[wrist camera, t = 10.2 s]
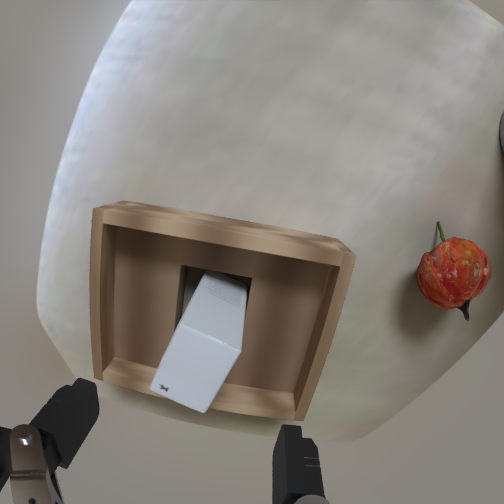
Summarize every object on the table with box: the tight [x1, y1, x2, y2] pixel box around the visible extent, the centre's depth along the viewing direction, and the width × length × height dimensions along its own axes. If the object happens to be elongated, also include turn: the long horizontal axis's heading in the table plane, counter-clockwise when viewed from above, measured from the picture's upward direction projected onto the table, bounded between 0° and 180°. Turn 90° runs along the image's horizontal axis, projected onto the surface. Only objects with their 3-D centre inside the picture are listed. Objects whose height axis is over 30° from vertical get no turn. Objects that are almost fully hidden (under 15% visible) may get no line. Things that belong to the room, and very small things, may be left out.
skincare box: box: [150, 269, 248, 413], centre depth 24 cm, size 6×4×12 cm
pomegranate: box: [417, 221, 491, 321], centre depth 25 cm, size 7×7×10 cm
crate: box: [90, 201, 356, 421], centre depth 27 cm, size 20×16×6 cm
